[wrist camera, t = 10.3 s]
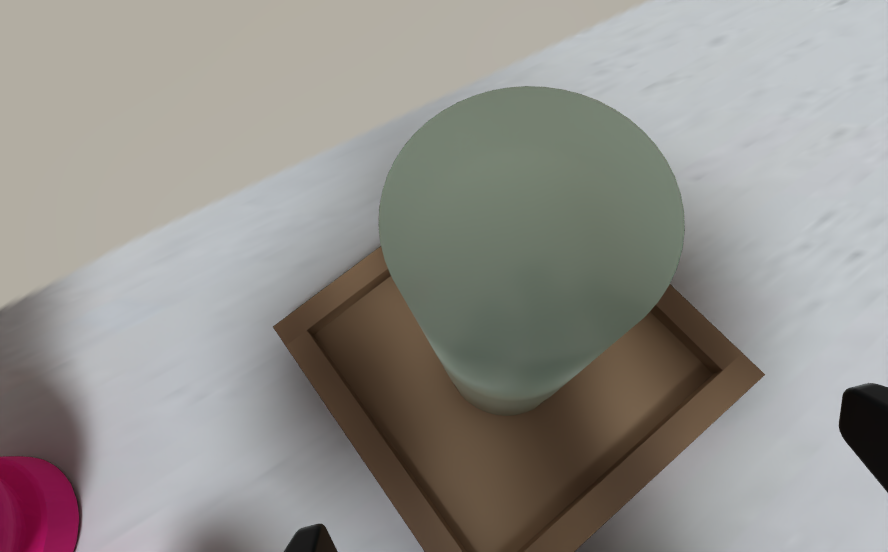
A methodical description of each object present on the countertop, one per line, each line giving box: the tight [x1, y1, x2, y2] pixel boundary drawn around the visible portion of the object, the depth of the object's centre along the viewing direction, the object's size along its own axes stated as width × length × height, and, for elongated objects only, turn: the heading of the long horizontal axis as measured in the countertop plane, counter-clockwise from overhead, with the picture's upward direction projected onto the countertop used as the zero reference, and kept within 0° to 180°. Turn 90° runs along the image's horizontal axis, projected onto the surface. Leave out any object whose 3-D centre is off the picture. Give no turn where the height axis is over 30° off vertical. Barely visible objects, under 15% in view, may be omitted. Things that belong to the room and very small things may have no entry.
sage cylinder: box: [379, 86, 685, 416], centre depth 13 cm, size 5×5×12 cm
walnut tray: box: [273, 246, 765, 552], centre depth 20 cm, size 13×13×2 cm
